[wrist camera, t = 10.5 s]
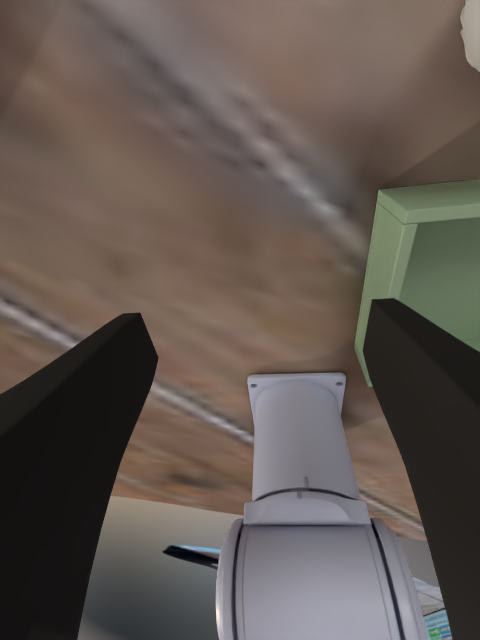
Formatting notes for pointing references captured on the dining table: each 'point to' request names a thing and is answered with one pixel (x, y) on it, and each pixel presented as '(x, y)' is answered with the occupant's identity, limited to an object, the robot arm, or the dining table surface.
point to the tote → (426, 258)
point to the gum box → (437, 626)
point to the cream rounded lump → (471, 32)
